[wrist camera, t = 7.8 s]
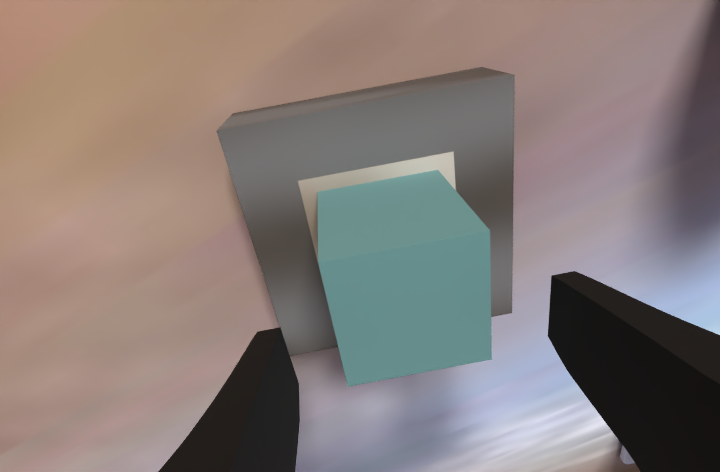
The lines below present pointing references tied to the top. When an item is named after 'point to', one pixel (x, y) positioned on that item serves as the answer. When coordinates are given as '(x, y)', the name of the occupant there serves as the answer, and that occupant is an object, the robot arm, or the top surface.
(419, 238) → the teal block
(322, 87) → the top surface
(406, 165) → the plinth
